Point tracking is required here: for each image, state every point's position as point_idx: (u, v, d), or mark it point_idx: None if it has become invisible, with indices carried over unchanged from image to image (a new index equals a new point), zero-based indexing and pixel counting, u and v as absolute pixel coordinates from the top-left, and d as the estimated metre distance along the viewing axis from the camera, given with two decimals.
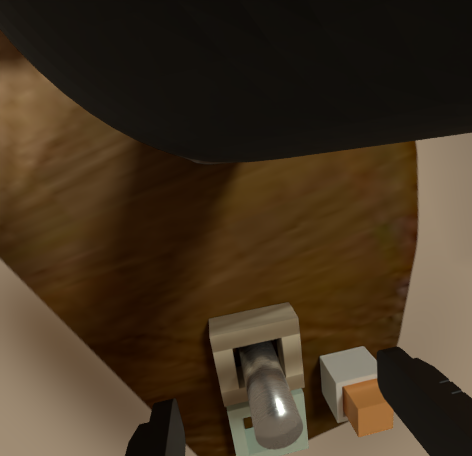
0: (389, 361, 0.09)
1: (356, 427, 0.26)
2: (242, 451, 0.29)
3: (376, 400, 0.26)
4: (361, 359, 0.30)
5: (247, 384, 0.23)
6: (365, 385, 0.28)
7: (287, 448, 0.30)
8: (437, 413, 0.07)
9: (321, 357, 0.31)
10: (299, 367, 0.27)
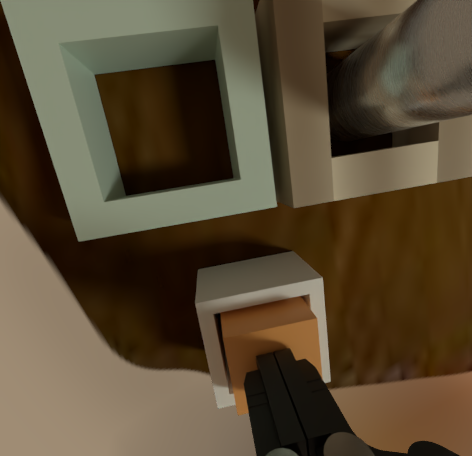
0: (276, 361, 0.10)
1: (244, 327, 0.10)
2: (78, 19, 0.09)
3: None
4: None
5: None
6: None
7: (80, 176, 0.10)
8: (294, 408, 0.08)
9: None
10: (352, 189, 0.12)
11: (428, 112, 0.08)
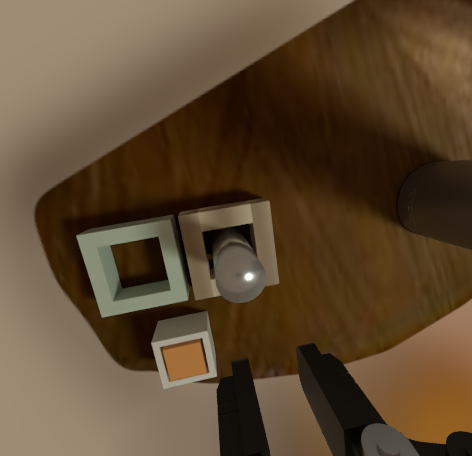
0: (301, 356, 0.10)
1: (171, 345, 0.26)
2: (104, 239, 0.24)
3: (203, 357, 0.27)
4: (213, 351, 0.30)
5: (240, 241, 0.23)
6: (203, 346, 0.29)
7: (103, 292, 0.25)
8: (325, 401, 0.08)
9: None
10: None
11: None
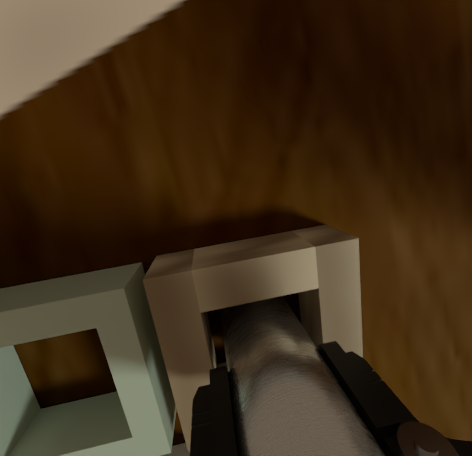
0: (324, 354, 0.10)
1: None
2: None
3: None
4: None
5: (307, 361, 0.08)
6: None
7: None
8: (353, 399, 0.08)
9: None
10: None
11: None
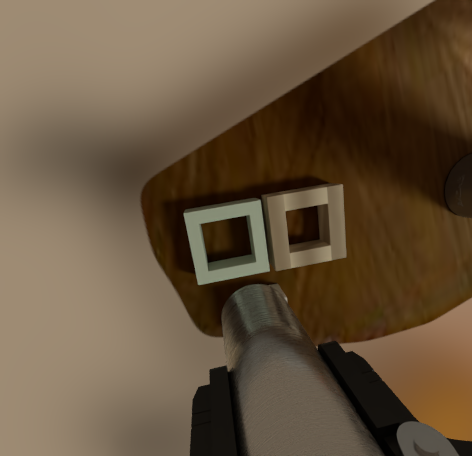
0: (324, 354, 0.10)
1: None
2: (205, 216, 0.28)
3: None
4: None
5: (307, 361, 0.08)
6: None
7: (201, 263, 0.29)
8: (353, 399, 0.08)
9: (277, 285, 0.34)
10: (298, 263, 0.31)
11: None
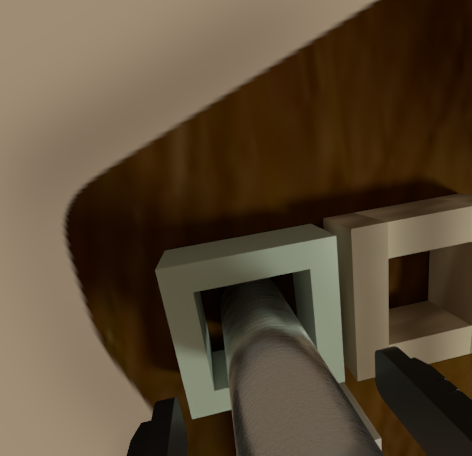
0: (386, 360, 0.09)
1: None
2: (209, 276, 0.12)
3: None
4: None
5: (291, 334, 0.10)
6: None
7: (199, 375, 0.13)
8: (434, 412, 0.07)
9: None
10: None
11: None
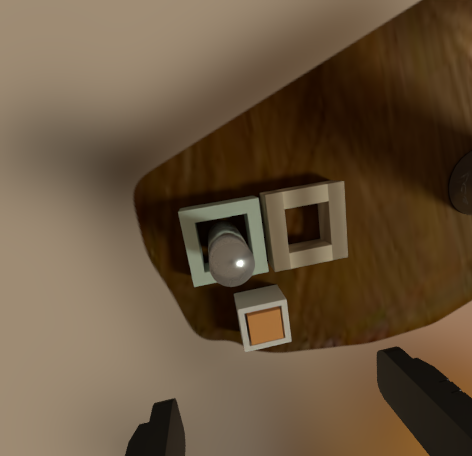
0: (388, 361, 0.09)
1: (254, 312, 0.29)
2: (201, 215, 0.27)
3: None
4: None
5: (233, 232, 0.25)
6: None
7: (197, 264, 0.28)
8: (437, 413, 0.07)
9: (277, 286, 0.33)
10: (298, 264, 0.30)
11: None
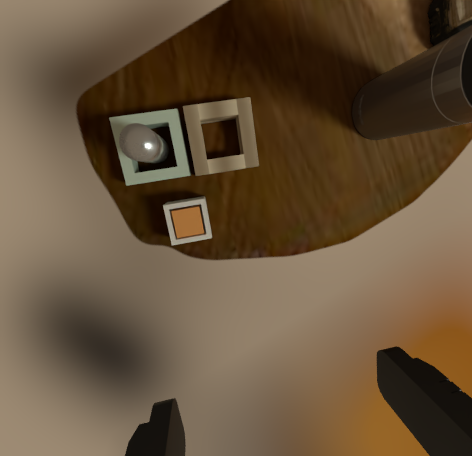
0: (389, 361, 0.09)
1: (178, 209, 0.35)
2: (129, 121, 0.33)
3: (202, 221, 0.36)
4: None
5: None
6: (202, 219, 0.38)
7: (128, 165, 0.34)
8: (437, 413, 0.07)
9: (204, 197, 0.39)
10: (215, 170, 0.36)
11: None
